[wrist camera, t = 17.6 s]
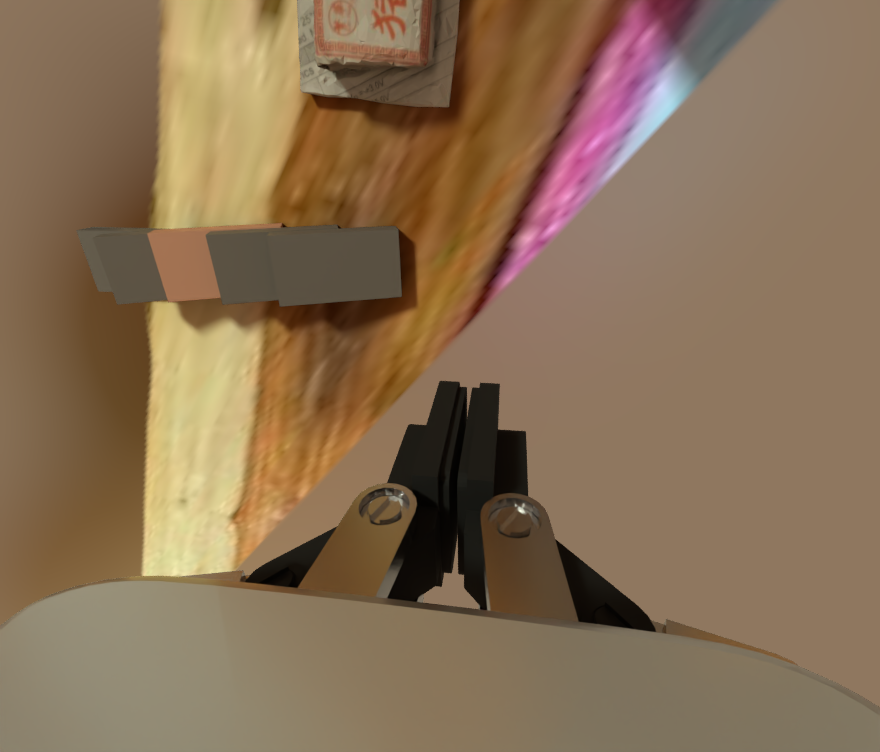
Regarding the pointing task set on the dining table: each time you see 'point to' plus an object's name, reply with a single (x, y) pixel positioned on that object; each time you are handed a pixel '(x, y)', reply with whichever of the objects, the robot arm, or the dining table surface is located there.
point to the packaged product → (379, 50)
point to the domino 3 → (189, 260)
